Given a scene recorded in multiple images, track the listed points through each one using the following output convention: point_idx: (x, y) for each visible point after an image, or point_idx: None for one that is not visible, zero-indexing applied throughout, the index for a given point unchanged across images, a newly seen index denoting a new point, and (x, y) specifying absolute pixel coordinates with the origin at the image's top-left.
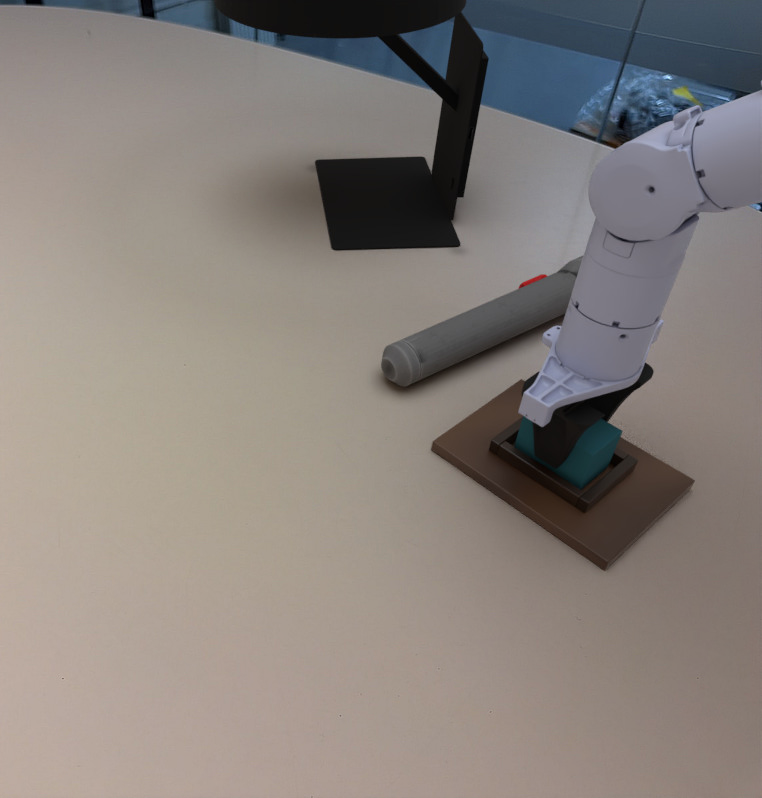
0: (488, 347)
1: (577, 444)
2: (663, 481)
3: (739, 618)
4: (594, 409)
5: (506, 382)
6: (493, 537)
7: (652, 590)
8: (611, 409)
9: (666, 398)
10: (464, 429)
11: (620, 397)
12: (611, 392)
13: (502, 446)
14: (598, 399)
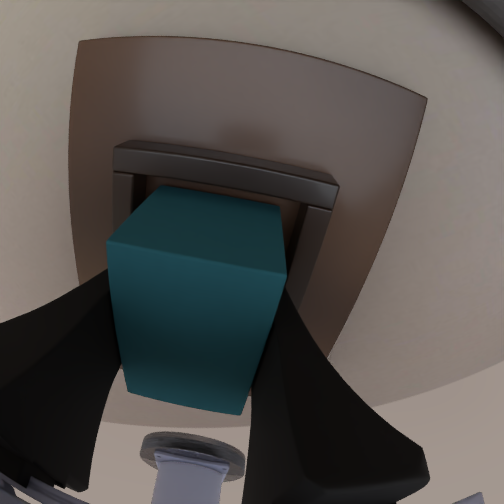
0: (471, 6)
1: (126, 371)
2: None
3: (161, 422)
4: (69, 485)
5: (415, 67)
6: (32, 236)
7: (125, 381)
8: (251, 426)
9: (468, 319)
10: (150, 59)
11: (247, 472)
12: (251, 465)
13: (112, 180)
14: (258, 416)
